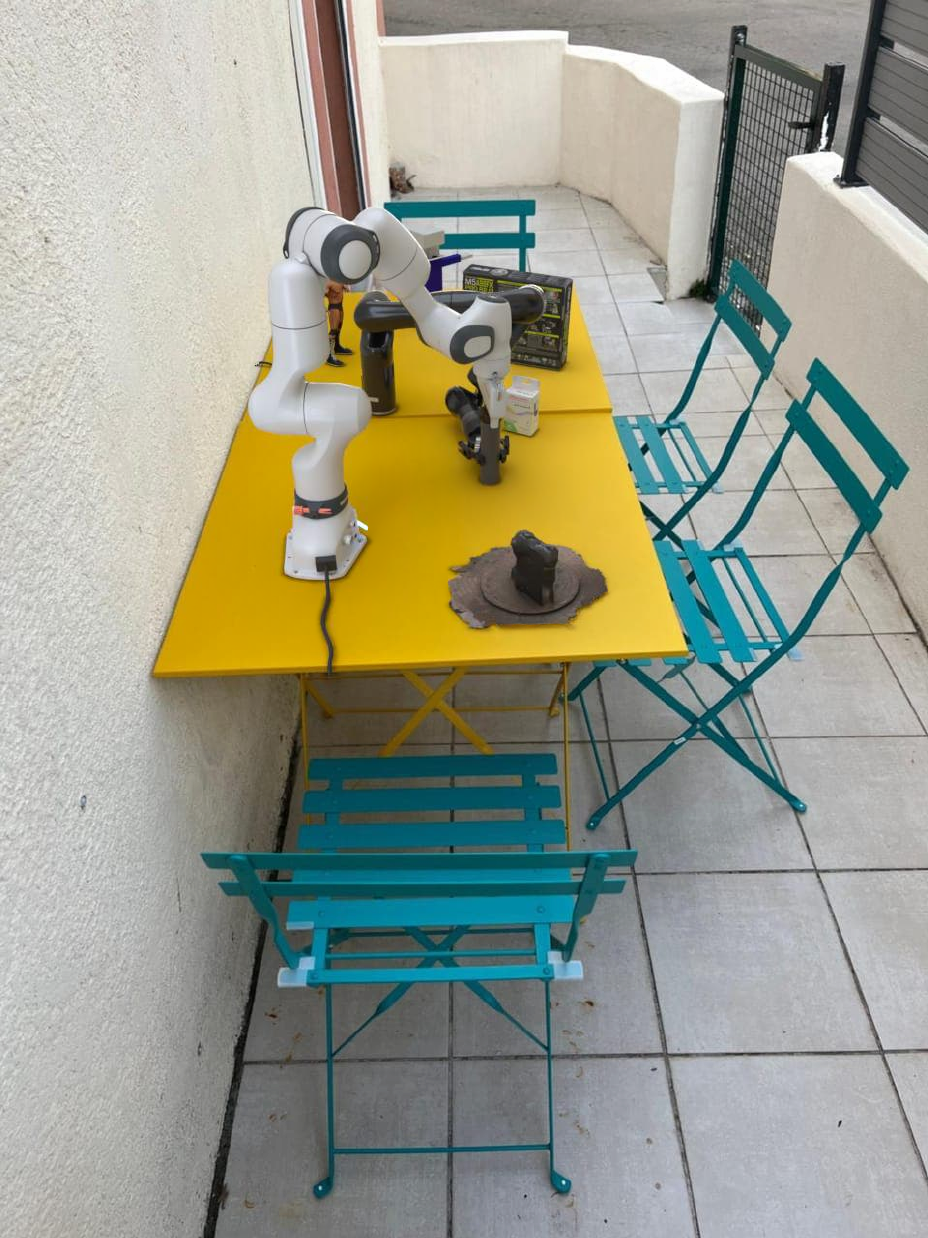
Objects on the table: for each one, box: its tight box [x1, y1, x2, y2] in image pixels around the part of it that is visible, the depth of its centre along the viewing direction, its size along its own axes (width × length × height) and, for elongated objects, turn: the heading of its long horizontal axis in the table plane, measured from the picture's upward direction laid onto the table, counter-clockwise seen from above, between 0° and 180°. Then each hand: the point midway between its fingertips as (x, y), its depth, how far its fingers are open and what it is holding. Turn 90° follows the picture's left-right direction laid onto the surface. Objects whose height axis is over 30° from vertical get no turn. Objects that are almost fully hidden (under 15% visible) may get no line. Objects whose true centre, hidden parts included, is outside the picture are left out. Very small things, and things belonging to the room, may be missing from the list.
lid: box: [479, 405, 503, 423], centre depth 215 cm, size 6×6×2 cm
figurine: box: [325, 279, 353, 367], centre depth 275 cm, size 24×6×30 cm, turn 168°
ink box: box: [503, 374, 541, 437], centre depth 242 cm, size 9×5×15 cm, turn 62°
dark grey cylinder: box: [480, 420, 502, 486], centre depth 221 cm, size 5×5×19 cm
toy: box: [408, 223, 474, 293], centre depth 298 cm, size 35×10×30 cm, turn 130°
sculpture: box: [447, 529, 609, 629], centre depth 188 cm, size 33×35×16 cm
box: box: [462, 263, 574, 371], centre depth 275 cm, size 34×7×27 cm, turn 68°
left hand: (490, 418), depth 216 cm, fingers open, 7 cm apart
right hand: (492, 461), depth 221 cm, fingers closed on dark grey cylinder, 5 cm apart
